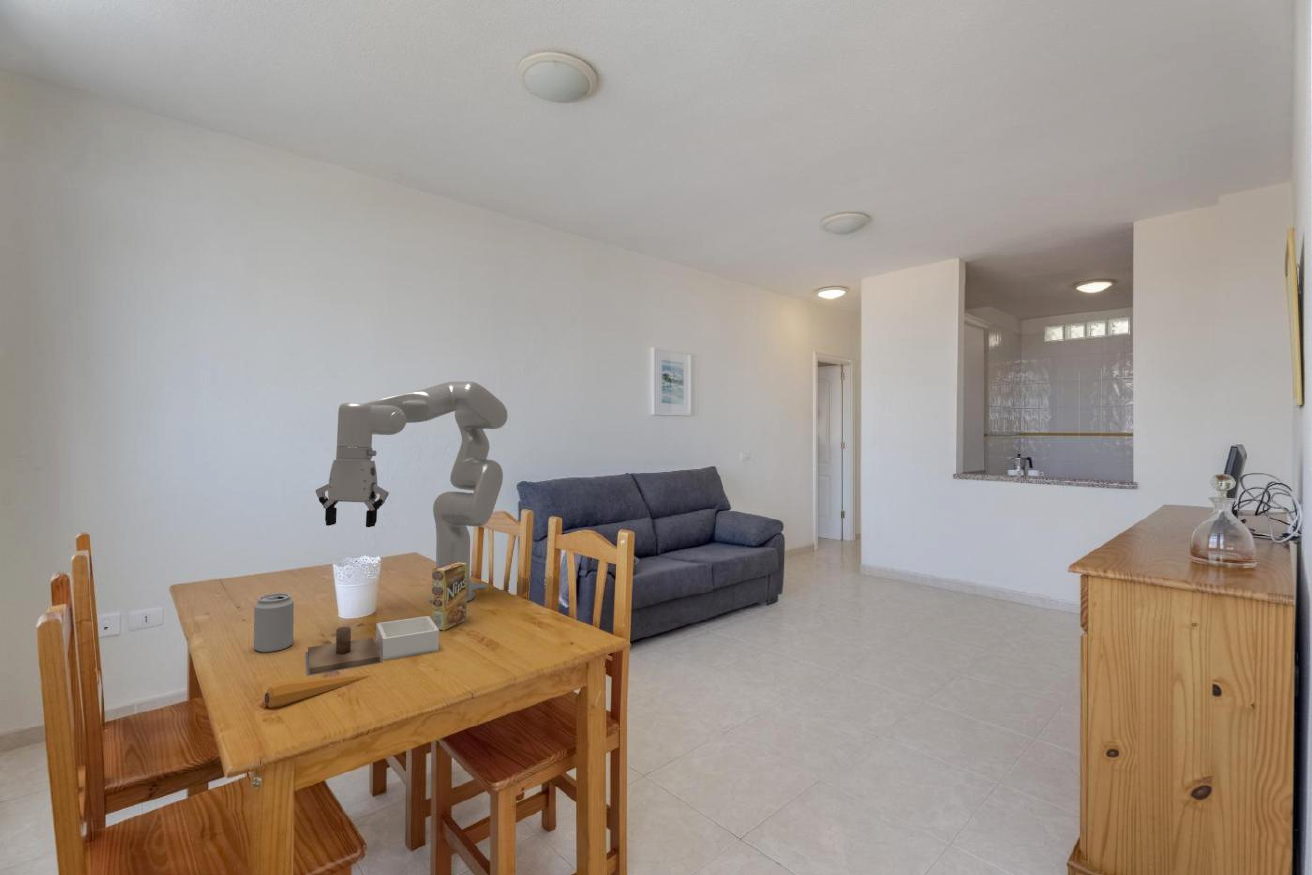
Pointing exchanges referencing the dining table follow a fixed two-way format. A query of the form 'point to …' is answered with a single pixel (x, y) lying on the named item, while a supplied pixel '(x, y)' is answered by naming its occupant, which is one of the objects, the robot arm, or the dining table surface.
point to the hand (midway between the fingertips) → (350, 525)
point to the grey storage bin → (407, 637)
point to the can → (273, 622)
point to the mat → (333, 670)
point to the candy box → (449, 595)
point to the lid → (342, 653)
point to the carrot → (304, 689)
